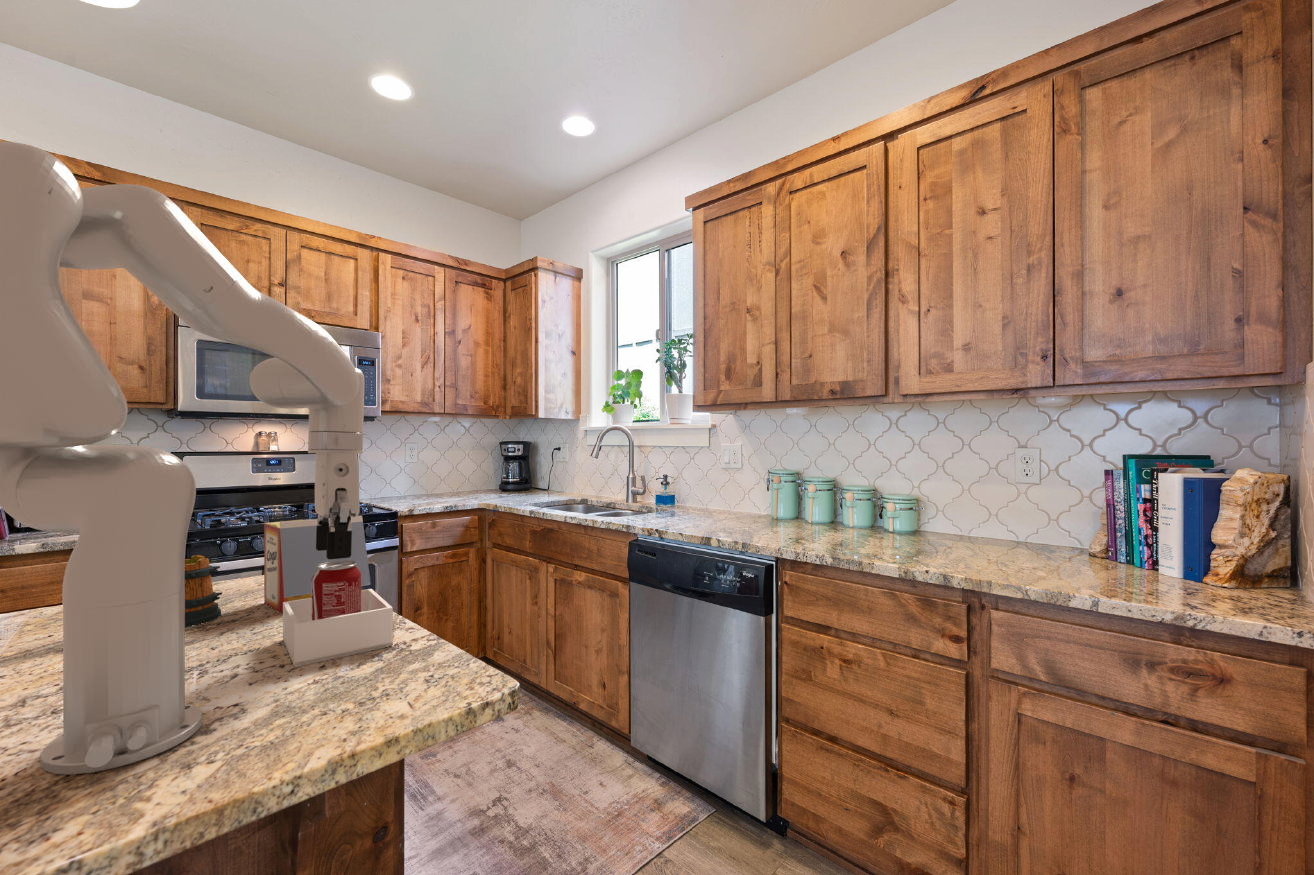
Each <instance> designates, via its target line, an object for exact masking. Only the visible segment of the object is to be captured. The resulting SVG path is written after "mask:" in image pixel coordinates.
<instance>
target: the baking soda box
mask: <svg viewBox="0 0 1314 875" xmlns="http://www.w3.org/2000/svg"><path fill="white" fill-rule="evenodd" d="M299 520H300V519H295V520H293V519H292V521H299ZM286 521H287V520H285V521H282V522H286ZM280 522H281V521H274V522H266V523H265V522H264V524H263V527H264V528H263V531H264V532H263V538H264V539H263V542H264V543H263V549H264V550H263V555H264V557H263V560H264V562H263V563H264V564H263V569H264V570H263V573H264V574H263V575H264V578H263V579H264V580H263V581H264V582H263V588H264V589H263V592H264V594H263V596H264V599H263V600H264V604H265V605H266V604H267V605H266V606H268V607H269V606H270V607H269V608H271V607H272V608H271V609H273V610H274V609H275V611H276V612H277V611H278V613H279V614H283V602H288V601H295V600H301V599H308V598H312V594H305V595H298V596H291V597H285V598H284V584H283V568H282V552H281V536H280Z"/></svg>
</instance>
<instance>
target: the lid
mask: <svg viewBox="0 0 1314 875" xmlns="http://www.w3.org/2000/svg"><path fill="white" fill-rule="evenodd" d="M298 520H299V521H293V520H285V521H286V522H283V521H279V522H280V536H281V552H282V568H283V584H284V598H285V597H291V596H298V595H305V594H312V577H313V575H314V574H315V572H316V571H317V568H316V566H317V565H319V564H322V563H326V562H332V561H355V562H357V565H356V567H357V568H358V570H359V571H360V572H361V587H365V586H369V585H371V584H372V583H371V576H370V570H369V569H370V568H369V560H368V553H367V544H366V537H365V528H364V521H363V515H357V516H356V517H352V516H351V526H352V528H351V531H352V545H351V557H349V558H341V559H328V558H327V557H326V555H327V550H322V551H318V550H316V528H317V526H320V525H318V523H317V521H318V518H313V519H298Z"/></svg>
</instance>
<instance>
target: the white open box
mask: <svg viewBox="0 0 1314 875" xmlns="http://www.w3.org/2000/svg"><path fill="white" fill-rule="evenodd" d="M393 629H394V608H393V606H392V605H391V604H390V603H388V601H386V600H385V599H384V598H382V597H381V596H380V595H379V594H378V593H377V592H376V591H375V590H374V589H373V588H368V589H361V612H359V613H353V614H347V615H341V616H336V617H330V618H324V619H318V620H313V621H312V598H308V599H301V600H295V601H288V602H283V613H282V640H283V643H284V645H285V649H286V650H287V653H288V655H289V658H290V660H291V662H292V665H293V668H297V667H302V666H303V667H304V666H306V665H307V666H308V665H312V664H315V663H320V662H325V661H330V660H334V659H340V658H345V657H349V656H353V655H358V654H363V653H367V652H372V650H373V651H376V650H377V651H378V650H381V649H386V648H385V647H387V648H390V647H389V646H391V647H393V646H394V644H393V642H394V641H393V640H394V637H393V636H394V630H393ZM392 645H393V646H392Z"/></svg>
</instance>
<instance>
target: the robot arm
mask: <svg viewBox="0 0 1314 875" xmlns="http://www.w3.org/2000/svg"><path fill="white" fill-rule="evenodd" d="M60 268H62V269H63V268H64V269H72V270H73V269H74V270H84V271H85V270H87V271H88V270H90V271H96V270H111V269H113V270H114V269H124V270H125V271H126V272H128V273H129V274H130V275H131V276H133V278H135V279H136V280H137V281H138V282H140V284H141V285H143V287H145V288H146V289H148V291H149V292H150V293H152V295H154V296H155V297H156V298H157V299H158V300H159V301H160V302H162V304H164V305H165V306H166V307H168V309H169V310H170V311H171V312H172V313H174V314H175V315H176V316H177V317H178V318H180V320H181V321H182V322H184V324H186V325H187V326H188V327H189V328H190V329H191V330H194V331H195V332H198V333H200V334H202V335H206V336H207V337H208V336H209V337H210V338H211V337H212V338H213V339H217V340H220V341H222V342H223V341H224V342H225V343H231V344H234V345H238V346H242V347H245V348H249V349H253V350H256V351H259V352H262V353H264V354H266V355H269V356H272V358H268V359H265V360H263V361H261V362H259V363H258V364H256V365H255V366H254V368H253V369H252V371H251V373H250V375H249V387H250V389H251V392H252V393H253V395H254V396H255V397H256V398H257V399H258V400H259V401H260V402H262V403H263V404H265V405H267V406H270V407H272V408H278V409H288V410H290V409H293V410H294V409H308V410H309V411H308V438H307V439H308V441H307V444H308V445H307V449H308V450H307V453H308V454H315V470H314V471H315V473H314V510H315V513H316V514H317V519H318V521H317V523H318V525H320V526H317V528H316V550H318V551H322V550H327V555H326V557H327V558H328V559H341V558H349V557H351V545H352V531H351V528H352V526H351V516H352V517H356V516H359V514H360V474H359V472H360V471H359V470H360V469H359V460H358V459H359V458H358V454H359V455H360V454H361V455H362V454H363V452H364V450H363V448H364V418H365V417H364V414H365V413H364V412H365V375H364V373H363V371H362V370H361V369H360V368H357V367H355V365H354V363H353V362H352V360H351V359H350V357H349V356H348V355H347V353H346V352H345V351H344V350H343V349H342V347H341V346H340V345H339V344H338V343H337V341H336V340H335V339H334V338H333V337H332V336H331V335H330V334H329V333H328V332H327V331H326V329H324V328H323V327H321V326H320V324H319V325H318V324H317V323H316V322H315V321H313V320H311V319H310V318H309V317H306V316H305V315H303V314H301V313H300V312H297V311H296V310H294V309H292V308H291V307H289V306H288V305H286V304H284V303H282V302H280V300H279V301H278V300H277V299H275V298H273V297H271V296H269V295H267V294H265V293H263V292H261V291H259V290H257V289H256V288H255V287H253V286H252V285H251V284H250V283H249V282H248V281H247V280H246V279H245V278H244V277H243V276H242V274H241V273H240V272H239V271H238V270H237V269H236V268H235V267H234V266H233V264H232V263H230V261H229V260H228V259H227V258H226V257H225V256H224V255H223V254H222V253H221V252H220V251H219V250H218V248H217V247H216V246H215V245H214V244H213V243H212V242H211V241H210V239H209V238H208V237H207V236H206V235H205V234H204V233H203V232H202V231H201V230H200V229H199V227H197V225H195V223H194V222H193V220H191V219H190V218H189V217H188V216H187V214H186V213H185V212H184V211H182V209H181V208H180V207H179V205H177V204H176V203H175V202H174V201H172V200H171V199H170V198H169V197H168V196H166V195H165V194H163V193H162V192H160V191H159V190H156V189H155V188H152V187H149V186H146V185H140V184H133V183H132V184H131V183H130V184H129V183H124V184H123V183H121V184H120V183H119V184H118V183H117V184H105V185H97V186H88V187H80V185H79V182H78V181H77V178H76V177H75V176H74V174H73V172H72V171H71V170H70V169H69V168H68V166H66V164H65V163H64V162H62V161H61V160H60V159H59V158H58V157H56V156H55V155H53V154H52V153H49V152H48V151H46V150H44V149H42V148H39V147H38V146H33V145H31V144H30V145H29V144H26V143H22V142H17V141H6V140H5V141H2V140H0V508H1V509H2V510H3V511H4V512H5V513H6V514H8V515H9V516H10V517H11V518H13V520H15V521H17V522H18V523H20V524H21V525H24V526H25V527H29V528H32V529H35V530H39V531H43V532H51V533H59V534H60V533H61V534H62V533H63V534H79V535H78V538H77V541H76V544H75V545H74V547H73V550H72V552H71V553H70V557H69V559H68V561H67V564H66V567H65V570H64V575H63V581H62V592H61V593H62V594H61V595H62V598H61V599H62V602H61V603H62V613H63V614H62V621H63V622H62V626H63V629H62V632H63V634H62V635H63V638H62V639H63V640H62V647H63V648H62V649H63V650H62V652H63V653H62V654H63V655H62V660H63V661H62V662H63V663H62V664H63V666H62V669H63V672H62V673H63V674H62V675H63V676H62V677H63V678H62V680H63V681H62V683H63V684H62V685H63V686H62V689H63V691H62V692H63V693H62V694H63V696H62V699H63V702H62V703H63V704H62V705H63V706H62V708H63V709H62V710H63V711H62V712H63V714H62V715H63V722H62V723H63V725H62V726H63V728H62V729H63V731H62V734H60V735H59V736H57V737H56V738H54V739H53V740H52V741H50V742H48V744H47V745H46V746H45V747H44V748H43V749H42V751H41V753H40V766H41V768H42V769H43V770H45V771H47V772H48V773H50V774H51V773H52V774H56V775H57V774H58V775H79V774H80V775H81V774H82V775H83V774H90V773H96V772H101V771H106V770H111V769H115V768H119V767H122V766H123V767H124V766H127V765H130V764H134V763H136V762H139V761H142V760H146V759H148V758H151V757H153V756H156V755H158V754H162V753H164V752H166V751H167V750H169V749H172V748H174V747H176V746H178V745H179V744H181V743H183V742H184V741H185V742H186V740H188V739H189V738H191V737H192V736H193V735H194V734H196V732H197V731H199V729H200V728H201V727H202V724H203V711H202V709H201V708H199V707H198V706H196V705H192V704H186V664H185V663H186V651H185V650H186V649H185V648H186V627H185V588H184V571H185V569H184V568H185V559H186V547H187V546H186V544H187V541H188V540H187V539H188V533H189V526H190V523H191V519H192V515H193V511H194V508H195V503H196V495H197V487H196V480H195V477H194V474H193V472H192V471H191V469H190V467H188V465H187V464H186V463H185V462H184V461H183V460H182V459H181V458H179V457H178V456H176V455H175V454H173V453H171V452H168V451H166V450H163V449H160V448H156V447H152V446H145V445H135V444H133V445H131V444H97V445H96V443H100V442H102V441H105V440H107V439H109V438H111V437H113V436H114V435H115V434H116V433H118V432H119V431H120V430H121V429H122V428H123V427H124V424H125V423H126V421H127V416H128V413H129V412H128V402H127V399H126V397H125V395H124V393H123V391H122V388H121V387H120V384H118V382H117V380H116V379H115V377H114V374H112V372H111V370H110V369H109V367H108V366H107V364H106V363H105V361H104V360H103V358H102V357H101V355H100V353H99V352H98V351H97V349H96V347H95V345H94V344H93V343H92V341H91V340H90V338H89V337H88V335H87V334H86V332H85V330H84V329H83V328H82V326H81V325H80V323H79V321H78V319H77V317H76V316H75V314H74V312H73V311H72V309H71V307H70V304H69V303H68V302H67V299H66V297H65V295H64V293H63V290H62V286H61V282H60ZM92 444H95V445H92Z"/></svg>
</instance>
